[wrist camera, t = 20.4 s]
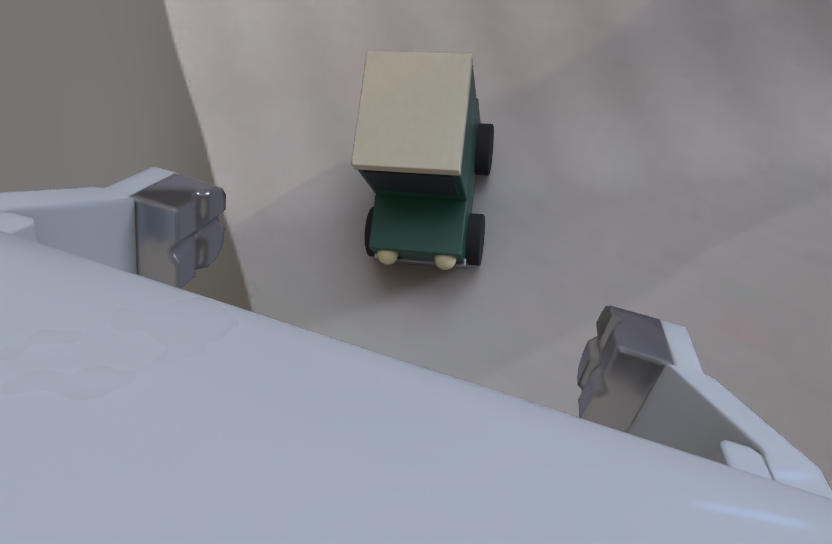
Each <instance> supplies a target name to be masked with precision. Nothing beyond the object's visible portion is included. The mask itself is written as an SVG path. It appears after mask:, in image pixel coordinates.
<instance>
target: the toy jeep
mask: <svg viewBox="0 0 832 544" xmlns="http://www.w3.org/2000/svg"><path fill="white" fill-rule="evenodd" d="M493 138H494V127H493V124H481V122H480V113H479V104H478V99H477V98H476V90H475V81H474V72H473V57H472V53H449V52H401V51H367V54H366V62H365V69H364V76H363V83H362V90H361V97H360V104H359V112H358V119H357V126H356V133H355V140H354V147H353V154H352V161H351V165H352V166H353V168H354V169H356V170H358V171H359V172H360V174H361V175H362V176H363V178H364V179H365V180H366V182H367V183H368V184H369V185H370V187H371V188H372V189H373V191H374V192H375V193H376V196H375V204H374V207H372V208H371V209H370V211H369V213H368V216H367V220H366V226H365V247H366V251H367V254H368V255H369V256H373V257H374V258H375V259H376V260H377V261H380V262H381V263H383V264H386V265H389V264H392V263H404V264H416V265H427V266H438V267H439V268H440V269H443V270H448V269H450V268H461V269H467V265H476V266H479V265H480V264H481V259H482V252H483V243H484V230H485V216H484V215H483V214H472V204H473V195H474V185H475V176H476V175H489V174H490V170H491V163H492V153H493Z"/></svg>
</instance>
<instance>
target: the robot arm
mask: <svg viewBox="0 0 832 544" xmlns="http://www.w3.org/2000/svg"><path fill="white" fill-rule="evenodd" d="M225 210H226V194H225V192H224V190H223V189H222V188H220V187H217V186H214V185H211V184H208V183H205V182H202V181H198V180H195V179H192V178H189V177H186V176H183V175H179V174H178V173H175V172H171V171H168V170H164V169H160V168H156V167H151V168H149V169H147V170H144V171H142V172H140V173H138V174H135V175H133V176H131V177H129V178H126V179H124V180H122V181H120V182H117V183H115V184H113V185H111V186H108V187H106V188H104V189H103V188H100V187H81V188H66V189H49V190H34V191H17V192H2V193H0V544H832V491H831V489H830V487H829V485H828V483H827V481H826V479H825V478H824V476H823V474H822V472H821V470H820V468H819V467H817V466H816V465H815V464H814V463H813V462H811V461H810V460H809V459H808V458H807V457H806V456H804V455H803V454H802V453H801V452H800V451H799V450H797V449H796V448H795V447H794V446H793V445H791V444H790V443H789V442H788V441H787V440H786V439H784V438H783V437H782V436H781V435H780V434H778V433H777V432H776V431H775V430H774V429H773V428H771V427H770V426H769V425H768V424H767V423H766V422H764V421H763V420H762V419H761V418H760V417H758V416H757V415H756V414H755V413H754V412H753V411H751V410H750V409H749V408H748V407H747V406H746V405H744V404H743V403H742V402H741V401H740V400H738V399H737V398H736V397H735V396H734V395H733V394H731V393H730V392H729V391H728V390H727V389H725V388H724V387H723V386H722V385H721V384H720V383H718V382H717V381H716V380H715V379H714V378H713V377H710V376H707V375H704V373H703V371H702V368H701V366H700V363H699V360H698V358H697V355H696V353H695V350H694V347H693V345H692V342H691V339H690V337H689V334H688V332H687V329H686V328H685V327H683V326H681V325H677V324H673V323H669V322H665V321H661V320H660V319H657V318H653V317H649V316H646V315H642V314H639V313H635V312H632V311H628V310H624V309H621V308H617V307H614V306H606V307H605V308H604V309H603V311H602V312H601V314H600V316H599V318H598V321H597V323H596V325H597V336H596V337H594V338H593V339H591V340H589V341H588V342H587V344H586V347H585V349H584V351H583V354H582V357H581V360H580V364H579V367H578V375H577V381H578V386H579V387H580V388H581V390H582V393H581V395H580V397H579V399H578V403H579V417H576V416H572V415H569V414H566V413H563V412H560V411H557V410H554V409H551V408H548V407H545V406H541V405H538V404H535V403H532V402H529V401H526V400H523V399H520V398H517V397H514V396H510V395H507V394H504V393H501V392H498V391H495V390H492V389H489V388H486V387H483V386H479V385H476V384H473V383H470V382H467V381H464V380H461V379H458V378H455V377H452V376H448V375H445V374H442V373H439V372H436V371H433V370H430V369H427V368H424V367H421V366H417V365H414V364H411V363H408V362H405V361H402V360H399V359H396V358H393V357H390V356H387V355H383V354H380V353H377V352H374V351H371V350H368V349H365V348H362V347H359V346H356V345H353V344H349V343H346V342H343V341H340V340H337V339H334V338H331V337H328V336H325V335H322V334H319V333H316V332H312V331H309V330H306V329H303V328H300V327H297V326H294V325H291V324H288V323H285V322H282V321H278V320H275V319H272V318H269V317H266V316H263V315H260V314H257V313H254V312H251V311H247V310H244V309H241V308H238V307H235V306H232V305H229V304H226V303H223V302H220V301H217V300H214V299H210V298H208V297H204V296H201V295H198V294H195V293H192V292H189V291H186V290H183V289H181V288H182V287H184V286H185V285H186V284H187V283H189V282H190V281H191V280H192V279H193V278H195V274H196V272H195V271H196V270H197V269H201V268H206V267H208V266H209V265H211V264H212V263H213V262H214V261H215V260H216V258H217V256H218V255H219V253H220V251H221V248H222V245H223V241H224V231H225V228H224V226H223V224H222V223H221V221H220V219H219V216H220V215H221V214H222V213H223V212H224V211H225Z"/></svg>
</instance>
